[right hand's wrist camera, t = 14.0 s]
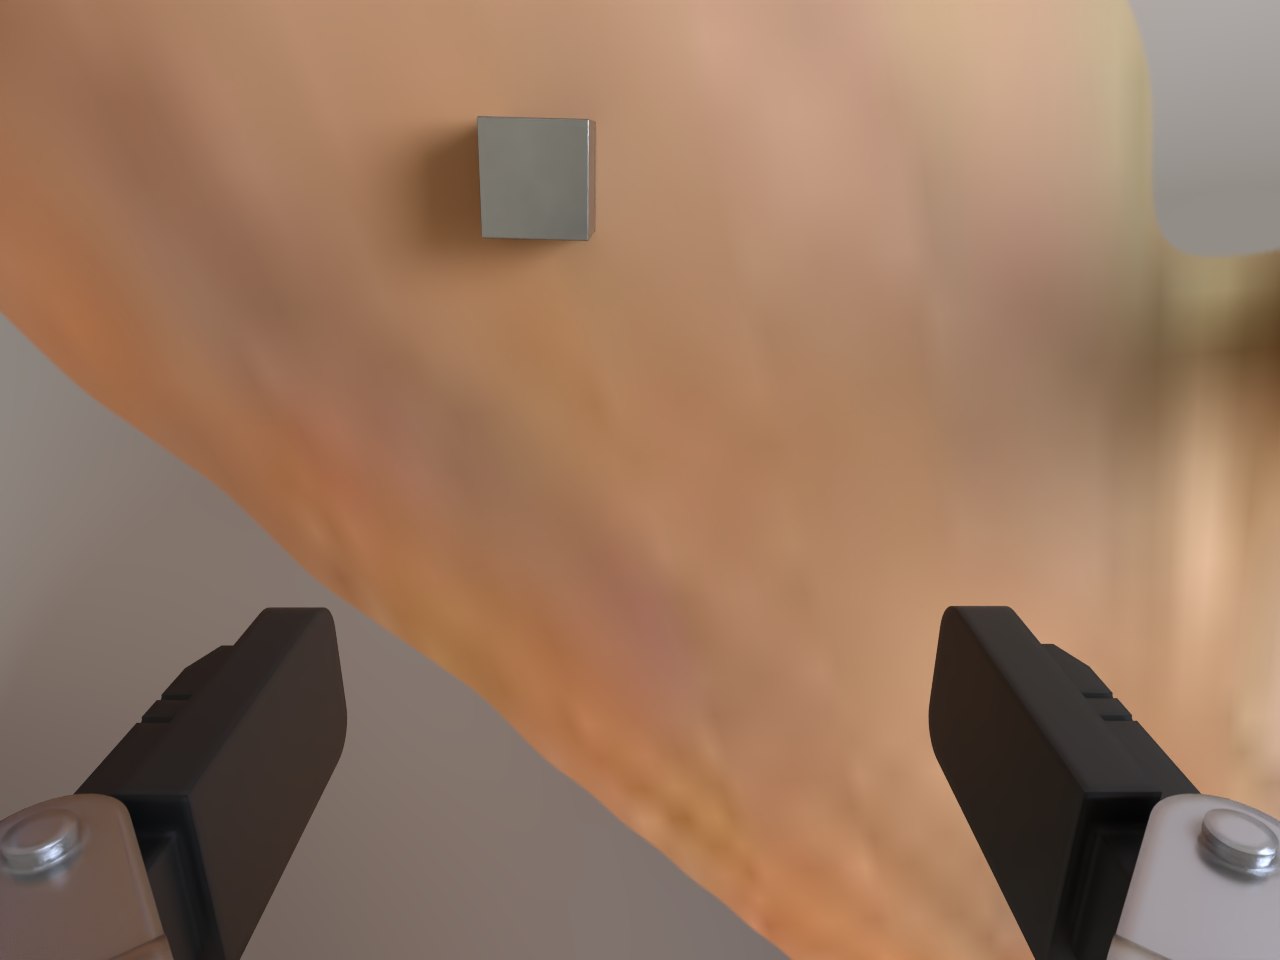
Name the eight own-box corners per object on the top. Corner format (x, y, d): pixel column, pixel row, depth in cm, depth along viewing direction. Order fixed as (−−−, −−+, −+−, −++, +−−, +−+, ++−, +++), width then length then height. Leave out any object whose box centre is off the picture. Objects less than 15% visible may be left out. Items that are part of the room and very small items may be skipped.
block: (498, 229, 40) (481, 238, 36) (494, 118, 38) (476, 116, 34) (595, 231, 40) (588, 241, 36) (595, 121, 38) (589, 119, 34)
